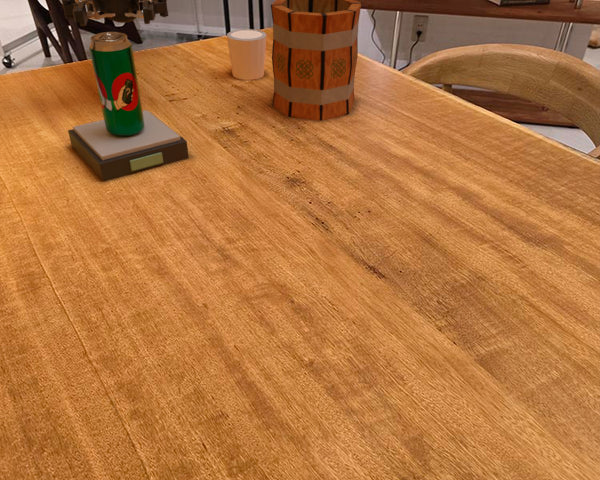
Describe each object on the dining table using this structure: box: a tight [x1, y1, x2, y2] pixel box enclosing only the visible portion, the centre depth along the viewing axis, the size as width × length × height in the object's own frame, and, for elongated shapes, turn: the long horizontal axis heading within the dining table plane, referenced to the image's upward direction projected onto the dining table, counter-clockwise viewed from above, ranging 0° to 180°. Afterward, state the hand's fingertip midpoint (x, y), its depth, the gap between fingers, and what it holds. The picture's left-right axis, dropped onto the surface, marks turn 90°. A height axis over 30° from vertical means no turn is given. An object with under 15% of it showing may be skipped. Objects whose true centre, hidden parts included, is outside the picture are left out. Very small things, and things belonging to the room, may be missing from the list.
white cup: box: [226, 28, 267, 81], centre depth 104 cm, size 7×7×7 cm
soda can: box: [88, 31, 145, 137], centre depth 75 cm, size 5×5×12 cm
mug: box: [270, 0, 362, 122], centre depth 93 cm, size 20×14×15 cm
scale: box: [67, 109, 189, 182], centre depth 80 cm, size 12×12×3 cm
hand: (113, 17), depth 80 cm, fingers open, 8 cm apart
